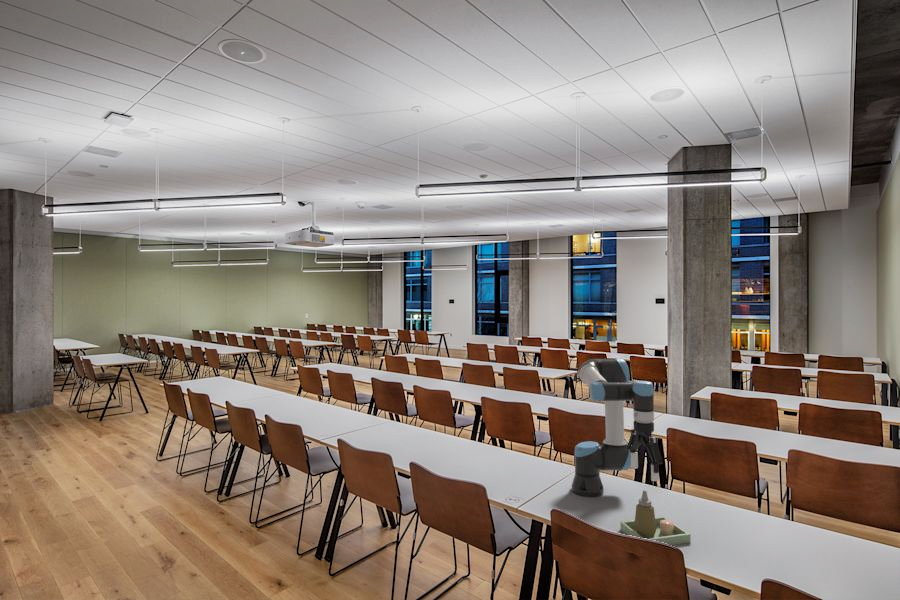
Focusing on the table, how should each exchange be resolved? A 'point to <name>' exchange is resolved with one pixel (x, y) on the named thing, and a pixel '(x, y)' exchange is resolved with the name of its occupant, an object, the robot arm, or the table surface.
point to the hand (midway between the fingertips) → (644, 474)
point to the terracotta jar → (666, 528)
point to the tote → (658, 532)
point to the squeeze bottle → (645, 517)
